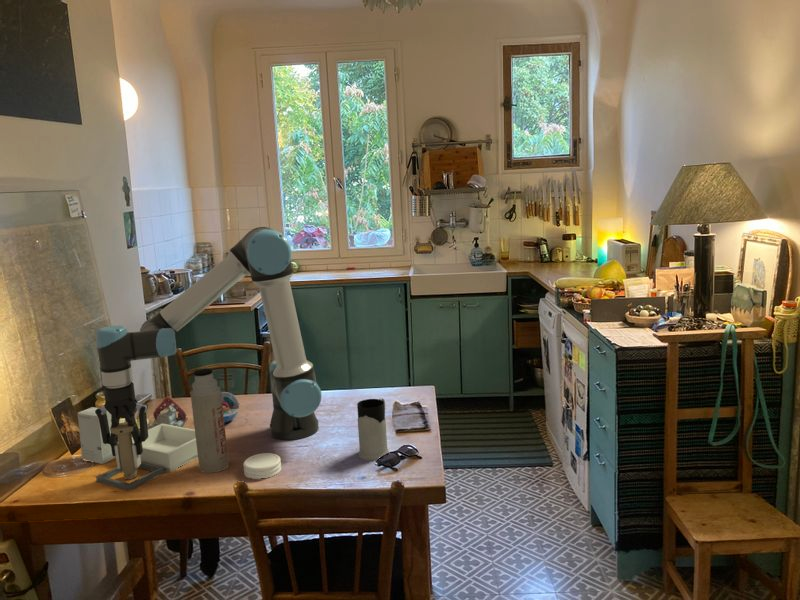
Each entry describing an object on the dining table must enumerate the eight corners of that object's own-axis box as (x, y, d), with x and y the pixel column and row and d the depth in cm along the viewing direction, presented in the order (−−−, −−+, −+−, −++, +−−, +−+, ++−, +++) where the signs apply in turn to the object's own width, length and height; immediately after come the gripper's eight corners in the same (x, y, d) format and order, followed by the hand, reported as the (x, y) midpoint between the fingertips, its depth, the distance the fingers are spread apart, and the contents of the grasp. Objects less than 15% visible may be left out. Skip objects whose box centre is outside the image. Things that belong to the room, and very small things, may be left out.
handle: (121, 475, 188) (112, 423, 185) (145, 472, 189) (137, 421, 186) (116, 482, 183) (108, 430, 180) (141, 479, 184) (133, 427, 181)
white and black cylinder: (353, 458, 190) (349, 407, 187) (372, 439, 203) (369, 391, 200) (382, 461, 187) (379, 409, 184) (400, 441, 200) (397, 392, 197)
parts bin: (212, 450, 202) (210, 432, 201) (170, 472, 188) (168, 453, 187) (164, 440, 211) (162, 423, 210) (121, 460, 198) (118, 442, 197)
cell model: (204, 428, 219) (201, 400, 217) (216, 415, 231) (212, 388, 229) (235, 427, 218) (232, 399, 217) (245, 414, 230) (242, 387, 228)
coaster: (265, 461, 192) (264, 449, 192) (289, 469, 186) (288, 457, 185) (236, 474, 185) (235, 462, 184) (260, 483, 178) (259, 471, 178)
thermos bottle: (234, 463, 191) (224, 367, 186) (213, 475, 185) (202, 376, 179) (214, 458, 195) (204, 364, 190) (193, 469, 189) (181, 372, 183)
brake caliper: (196, 414, 226) (182, 394, 217) (186, 444, 218) (172, 424, 210) (164, 414, 227) (149, 394, 219) (154, 443, 220) (138, 424, 211)
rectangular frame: (165, 472, 188) (164, 466, 188) (129, 490, 178) (128, 485, 178) (133, 464, 194) (132, 459, 194) (96, 482, 184) (96, 477, 184)
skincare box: (82, 461, 198) (74, 413, 196) (98, 453, 204) (91, 406, 201) (104, 464, 195) (96, 415, 193) (119, 456, 201) (113, 408, 198)
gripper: (155, 377, 185) (165, 458, 189) (92, 381, 185) (103, 462, 189) (145, 386, 178) (156, 470, 182) (79, 390, 177) (92, 473, 182)
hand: (129, 465), depth 186 cm, fingers closed on handle, 4 cm apart
